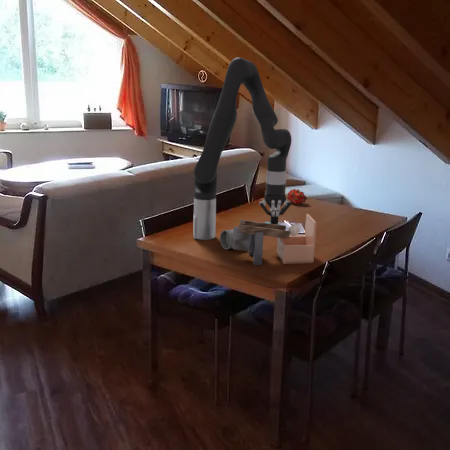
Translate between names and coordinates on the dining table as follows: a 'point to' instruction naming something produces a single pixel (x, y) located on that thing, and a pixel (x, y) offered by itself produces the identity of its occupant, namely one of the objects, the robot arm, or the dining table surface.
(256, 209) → the dining table surface
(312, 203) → the dining table surface
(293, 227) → the ball
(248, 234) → the lever board
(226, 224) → the dining table surface
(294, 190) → the dragon fruit
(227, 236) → the ceramic mug
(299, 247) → the cup
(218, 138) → the robot arm
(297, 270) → the dining table surface
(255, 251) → the pivot stand
